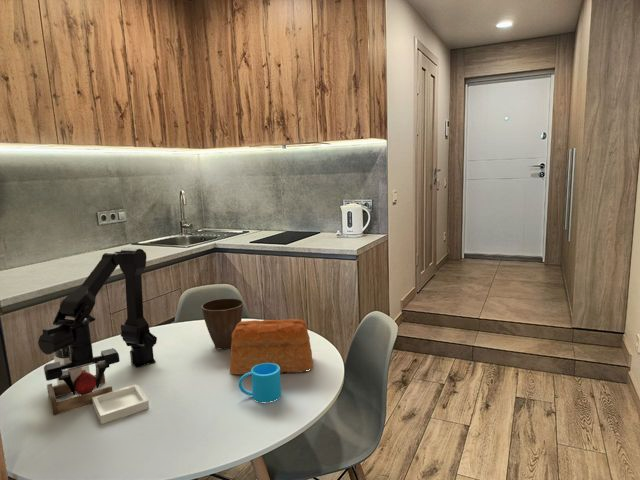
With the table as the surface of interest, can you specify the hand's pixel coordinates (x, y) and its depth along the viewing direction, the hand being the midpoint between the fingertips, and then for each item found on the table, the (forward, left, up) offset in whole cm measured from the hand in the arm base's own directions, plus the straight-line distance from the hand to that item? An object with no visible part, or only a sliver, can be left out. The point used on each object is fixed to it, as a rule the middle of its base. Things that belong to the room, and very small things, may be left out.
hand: (86, 390), depth 127 cm
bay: (+1, 0, -2) cm, 2 cm away
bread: (-52, +18, -2) cm, 55 cm away
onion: (0, 0, -2) cm, 2 cm away
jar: (+1, -13, -2) cm, 13 cm away
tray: (-7, +13, -2) cm, 15 cm away
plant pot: (-48, -8, -2) cm, 48 cm away
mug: (-40, +33, -2) cm, 52 cm away
